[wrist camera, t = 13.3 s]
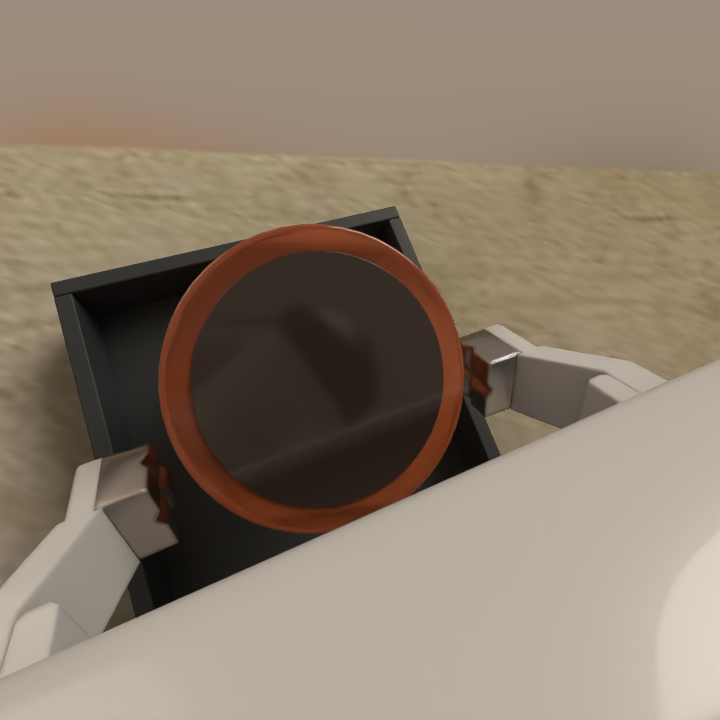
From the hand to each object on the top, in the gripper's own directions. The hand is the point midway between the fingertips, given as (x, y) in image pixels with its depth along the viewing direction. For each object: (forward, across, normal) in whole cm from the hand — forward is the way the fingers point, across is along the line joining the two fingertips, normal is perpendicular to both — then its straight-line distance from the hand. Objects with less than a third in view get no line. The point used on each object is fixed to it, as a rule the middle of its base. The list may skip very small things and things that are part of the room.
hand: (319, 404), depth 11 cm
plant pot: (+6, 0, +3) cm, 7 cm away
